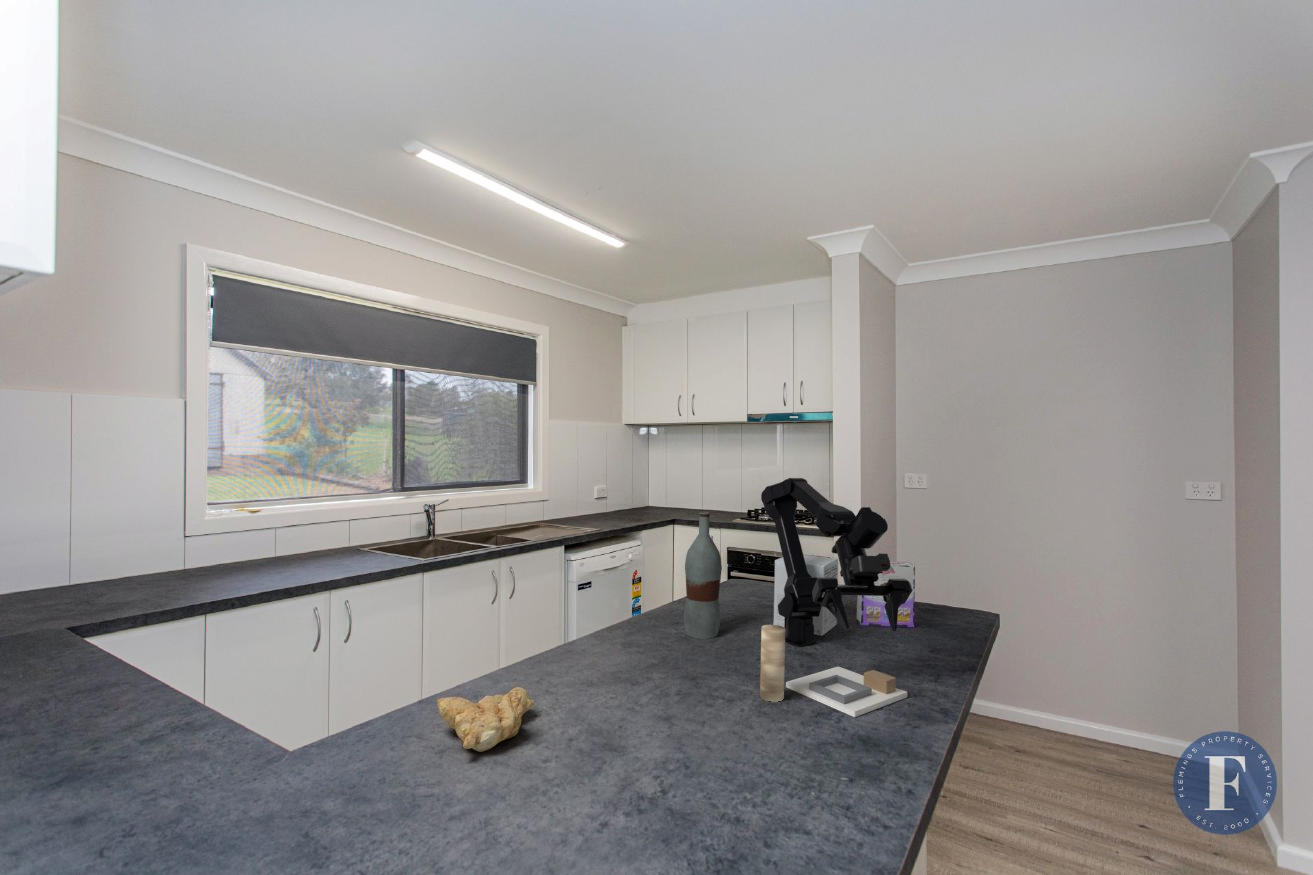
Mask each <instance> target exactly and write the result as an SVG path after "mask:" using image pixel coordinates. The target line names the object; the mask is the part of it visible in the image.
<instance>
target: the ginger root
mask: <svg viewBox="0 0 1313 875" xmlns="http://www.w3.org/2000/svg"><path fill="white" fill-rule="evenodd" d="M436 705H437V711H438V713H439V716H440V718H441V720H442V721H443V722H444V723H445V724H446V725H447V726H448V727H450V728H451V729H453V730H455V732H456V735H457V737H458V738H459V739H460V740H461V741H462V742H463V745H462V747H463V749H465V750H466V749H472V750H474V751H477V752H480V753H481V752H482V753H483V752H486V751H488V750H491V749H492V748H493V747H495V746H496V745H498V744H499V743H500V742H502V741H505V740H509V739H511V738H513V737H515V736H516V735H517V734H518V733H519V730H520V727H521V725H522V717H523V715H524V714H526V713H527V712H528V711H529V709H531V708H532V707H533V706H534V705H535V701H534V700H532V699H530V693H529V692H528V690H526V689H524V688H523V687H520V686H516V687H514V688H512V689H511V690H510V691H509V692H508V693H506V694H504V695H503V694H501V693H500V694H495V695H494V696H493V695H485V696H484V697H483V698H482V699H481V700H479V701H478V702H475V703H474V702H473V701H471V700H468V699H466V698H465V697H459V696H452V697H442V698H438V699H437V701H436Z"/></svg>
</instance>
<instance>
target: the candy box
mask: <svg viewBox="0 0 1313 875" xmlns="http://www.w3.org/2000/svg"><path fill="white" fill-rule="evenodd" d="M890 565H891V567H890V569H889V570H887V571H882V572H883V573H879V574H878V578H879V579H878V581H877V582H874V584H875V586H886V584H887V582H888V580H889V579H906V580H908V581H909V582H910V583H911V586H912V590H913V591H912V592H911V594H910V596H909V597H908V599H907V600H906V602H905V604H902V605H900V607H899V608H898V619H897V627H898V628H899V627H901V628H915V601H916V600H915V598H916V597H915V596H916V595H915V593H916V592H915V591H916V590H915V588H916V585H915V583H916V582H915V581H916V576H915V575H916V566H915V565H914V564H912V563H911V562H908V561H890ZM856 598H857V599H856V620H857V622H858V623H859V625H860V626H872V627H873V626H874V627H875V626H876V627H877V626H878V627H891V626H890V623H889V620H888V617H887V613H886V610H885V607H884V605H885V604H886V602H885V601H884V599H883V596H857V595H856Z"/></svg>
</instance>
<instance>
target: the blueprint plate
mask: <svg viewBox="0 0 1313 875" xmlns="http://www.w3.org/2000/svg"><path fill="white" fill-rule="evenodd" d="M896 684H897V678H896V677H894V676H892V675H889V674H886V673H883V672H882V671H881V672H880V671H878V670H875V669H871V670H868V671H866V672H865V671H864V672H863V674H860V673H857V672H855V671H852V670H850V669H846V668H843V667H840V666H835V667H832V668H829V669H825V670H822V671H819V672H815V673H812V674H808V675H804V676H802V677H798V678H795V679H792V680H789V681H786V682H785V688H787V689H789V690H791V691H794V692H796V693H798V694H800V695H803V696H805V697H808V698H810V699H813V700H814V701H817V702H819V703H821V704H824V705H826V706H828V707H829V708H830V707H831V708H833V709H835V710H837V711H839V712H842V713H844V714H847V715H848V716H851V717H853V718H856V717H860V716H861V715H864V714H867V713H869V712H872V711H875V710H877V709H880V708H882V707H885V706H888V705H890V704H893V703H896V702H898V701H900V700H903V699H907V698H908V691H906V690H904V689H900V688H897V687H896V686H897V685H896Z"/></svg>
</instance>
